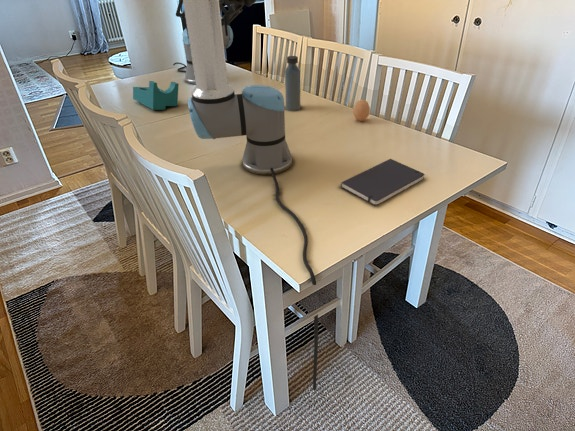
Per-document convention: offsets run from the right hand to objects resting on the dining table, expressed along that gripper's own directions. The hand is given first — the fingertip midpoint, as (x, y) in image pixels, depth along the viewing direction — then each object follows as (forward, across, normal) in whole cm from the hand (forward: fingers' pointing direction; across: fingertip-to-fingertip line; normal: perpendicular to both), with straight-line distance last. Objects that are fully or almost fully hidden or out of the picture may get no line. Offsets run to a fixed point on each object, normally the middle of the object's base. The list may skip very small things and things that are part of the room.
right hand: (208, 36), depth 147 cm
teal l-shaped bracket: (+28, +25, -14) cm, 40 cm away
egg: (+28, -52, +24) cm, 64 cm away
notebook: (+28, -44, +69) cm, 86 cm away
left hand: (-2, -1, -17) cm, 17 cm away
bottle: (+28, -30, +5) cm, 42 cm away
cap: (+8, -30, +5) cm, 32 cm away
